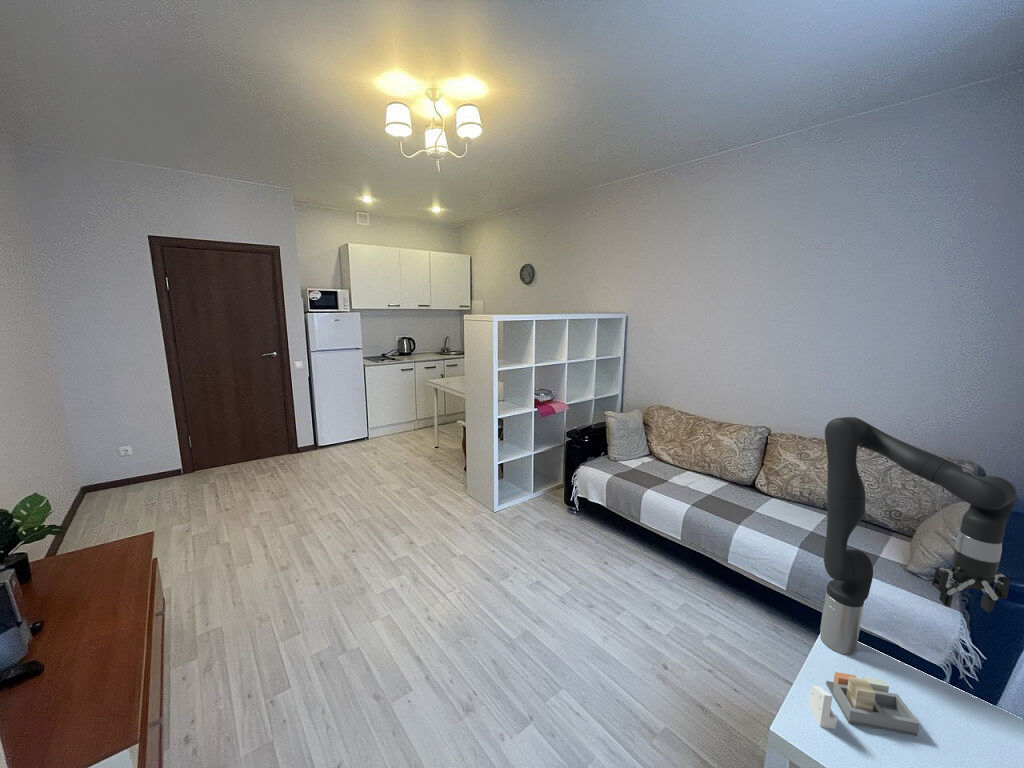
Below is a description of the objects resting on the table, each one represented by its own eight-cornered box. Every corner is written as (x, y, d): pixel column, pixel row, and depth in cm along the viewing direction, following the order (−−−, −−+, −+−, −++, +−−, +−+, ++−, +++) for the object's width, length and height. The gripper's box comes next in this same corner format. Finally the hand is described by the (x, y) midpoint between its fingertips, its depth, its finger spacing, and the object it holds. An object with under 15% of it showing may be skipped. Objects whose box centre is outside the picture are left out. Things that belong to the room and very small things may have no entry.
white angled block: (830, 736, 100) (824, 695, 102) (810, 718, 109) (805, 680, 112) (847, 739, 99) (840, 697, 102) (825, 720, 108) (819, 682, 111)
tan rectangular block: (845, 700, 110) (849, 676, 108) (862, 703, 109) (866, 679, 107) (853, 715, 106) (857, 690, 104) (871, 718, 105) (875, 693, 104)
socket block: (825, 683, 116) (828, 669, 115) (886, 694, 112) (889, 679, 111) (848, 723, 105) (851, 707, 104) (916, 736, 101) (920, 720, 100)
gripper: (998, 546, 103) (985, 601, 106) (931, 540, 106) (921, 593, 110) (1027, 564, 96) (1013, 622, 99) (954, 557, 99) (943, 613, 102)
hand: (965, 607), depth 104 cm, fingers open, 8 cm apart
